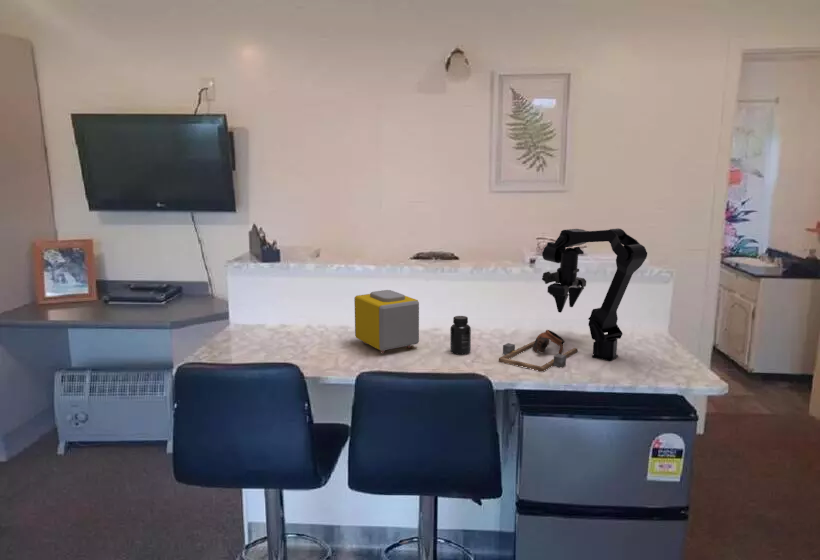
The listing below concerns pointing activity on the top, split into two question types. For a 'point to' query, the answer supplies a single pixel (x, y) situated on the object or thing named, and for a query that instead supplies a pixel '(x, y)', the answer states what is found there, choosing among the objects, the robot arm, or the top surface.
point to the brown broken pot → (547, 341)
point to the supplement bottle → (460, 336)
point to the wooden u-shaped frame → (510, 352)
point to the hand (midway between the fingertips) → (565, 309)
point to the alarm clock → (386, 319)
